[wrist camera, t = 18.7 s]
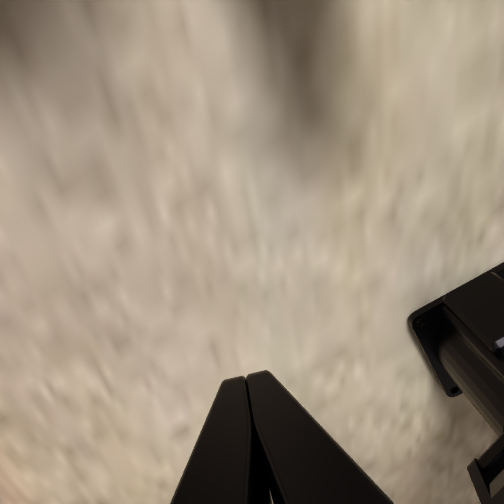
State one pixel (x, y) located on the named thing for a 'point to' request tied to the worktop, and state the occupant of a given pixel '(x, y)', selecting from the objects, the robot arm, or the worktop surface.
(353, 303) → the worktop surface
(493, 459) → the robot arm
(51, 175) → the worktop surface
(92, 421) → the worktop surface
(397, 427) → the worktop surface
